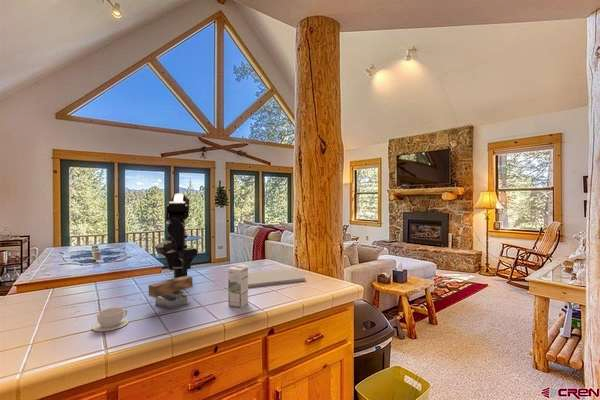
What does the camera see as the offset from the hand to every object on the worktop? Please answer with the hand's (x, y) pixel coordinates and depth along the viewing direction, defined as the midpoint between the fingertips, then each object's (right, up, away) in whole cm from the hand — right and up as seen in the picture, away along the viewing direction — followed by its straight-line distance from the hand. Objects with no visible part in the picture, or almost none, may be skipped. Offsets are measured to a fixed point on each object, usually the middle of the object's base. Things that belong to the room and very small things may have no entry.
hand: (177, 271), depth 121 cm
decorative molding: (+34, -12, +26) cm, 45 cm away
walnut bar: (0, -6, -5) cm, 8 cm away
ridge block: (0, -11, -5) cm, 12 cm away
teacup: (-11, -12, -24) cm, 29 cm away
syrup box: (+26, -12, -5) cm, 29 cm away
